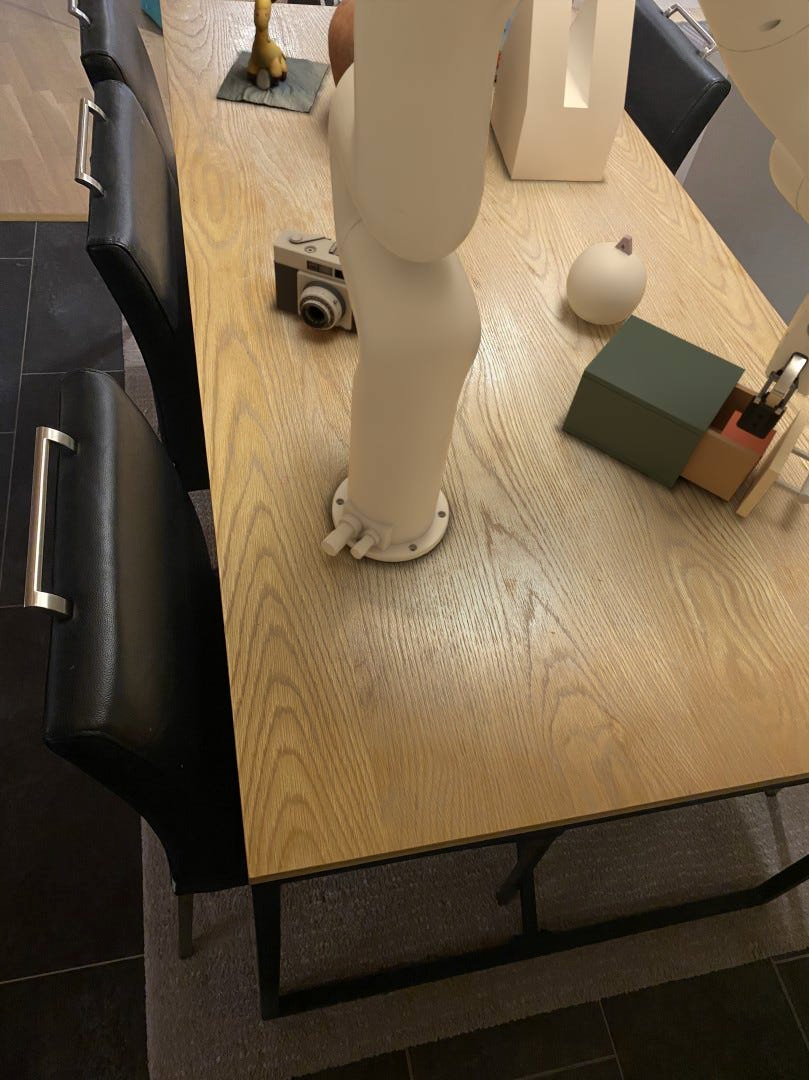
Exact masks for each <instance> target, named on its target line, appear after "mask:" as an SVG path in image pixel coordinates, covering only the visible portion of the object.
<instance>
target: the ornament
mask: <svg viewBox="0 0 809 1080" xmlns="http://www.w3.org/2000/svg"><path fill="white" fill-rule="evenodd" d="M647 276H648V275H647V269H646V266H645V263H644V261H643V259H642V257H641V256H640V255H639V254H638V252H637V251H636V250H635V249H633V237H632V236H631V235H629V234H625V235H624V236H623V237H622V238H621V239H620V240H619V242H617V241H602V242H601V241H600V242H597V243H594V244H592V245H590V246H588V247H586V248H585V249H584V250H583V251H581V252H580V253H579V254H578V255H577V257H576V258H575V260H574V261H573V262H572V264H571V266H570V268H569V270H568V274H567V279H566V285H565V291H566V293H565V294H566V298H567V301H568V304H569V307H570V308H571V309H572V311H573V312H574V313H575V314H576V315H577V316H578V317H579V318H581V319H582V320H583V321H586V322H588V323H590V324H593V325H599V326H602V325H603V326H606V325H614V324H617V323H619V322H620V323H621V322H622V321H623V320H625V319H628V318H629V317H630V316H631V315H632V314H633V313H634V311H636V309H637V308H638V306H639V305H640V304H641V302H642V300H643V297H644V295H645V292H646V288H647V278H648V277H647Z"/></svg>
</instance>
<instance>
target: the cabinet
mask: <svg viewBox="0 0 809 1080" xmlns="http://www.w3.org/2000/svg"><path fill="white" fill-rule="evenodd" d="M745 372H746V369H745V368H744V367H741V366H739V365H738V364H735V363H733V362H731V361H729V360H727V359H725V358H722V357H721V356H719V355H716V354H714V353H712V352H710V351H708V350H706V349H704V348H702V347H700V346H699V345H696V344H695V343H691V342H689V341H687V340H686V339H683V338H682V337H679V336H677V335H675V334H673V333H671V332H669V331H667V330H665V329H663V328H660V326H659V327H658V326H657V325H655V324H652V323H651V322H649V321H646V320H644V319H642V318H640V317H638V316H637V315H635V314H630V315H629V316H628V317H627V318H626V320H625V321H624V322H623V323H622V325H621V326H620V327H619V328H618V329H617V330H616V332H615V333H614V334H613V335H612V336H611V338H610V339H609V340H608V341H607V342H606V344H605V345H603V347H602V348H601V350H599V352H598V353H597V354H596V355H595V357H594V358H593V359H592V360H591V361H590V362H589V364H588V365H586V367H585V368H584V370H583V372H582V375H581V377H580V380H579V382H578V385H577V388H576V390H575V393H574V395H573V398H572V401H571V403H570V406H569V408H568V411H567V414H566V417H565V419H564V422H563V425H562V427H561V430H563V431H565V432H566V433H569V434H571V435H572V436H574V437H576V438H578V439H580V440H581V441H583V442H585V443H587V444H589V445H591V446H593V447H595V448H597V449H598V450H599V451H602V452H604V453H605V454H608V455H609V456H611V457H613V458H615V459H617V460H618V461H620V462H622V463H624V464H626V465H627V466H629V467H631V468H633V469H634V470H637V471H638V472H640V473H642V474H644V475H645V476H648V477H649V478H652V479H653V480H655V481H656V482H658V483H660V484H663V485H664V486H666V487H668V488H670V489H672V488H673V487H674V485H675V483H676V481H677V480H678V479H679V477H680V473H681V471H682V470H683V468H684V466H685V465H686V463H687V462H688V460H689V458H690V457H691V455H692V453H693V452H694V450H695V448H696V447H697V445H698V443H699V442H700V440H701V438H702V437H703V435H704V433H705V432H706V430H707V429H708V427H709V426H710V424H711V423H712V421H713V419H714V418H715V416H716V415H717V413H718V412H719V410H720V409H721V407H722V406H723V404H724V403H725V401H726V399H727V398H728V396H729V395H730V393H731V392H732V390H733V389H734V387H735V386H736V384H737V383H739V382H740V380H741V378H742V377H743V375H744V373H745Z"/></svg>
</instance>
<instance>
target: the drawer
mask: <svg viewBox="0 0 809 1080" xmlns="http://www.w3.org/2000/svg"><path fill="white" fill-rule="evenodd" d="M758 394H759V392H757V391H755V390H754V389H751V388H749V387H747V386H745V385H744V384H740V383H739V382H738V383H737V384H736V386H735V387H734V389H733V390H732V392H731V393H730V395H729V396H728V398H727V399H726V401H725V403H724V404H723V406H722V407H721V409H720V410H719V412H718V413H717V415H716V416H715V418H714V419H713V421H712V423H711V424H710V426H709V427H708V429H707V430H706V432H705V433H704V435H703V437H702V438H701V440H700V442H699V443H698V445H697V447H696V448H695V450H694V452H693V453H692V455H691V457H690V458H689V460H688V462H687V463H686V465H685V466H684V468H683V470H682V471H681V473H680V475H679V477H682V478H684V479H686V480H688V481H690V482H691V483H693V484H695V485H697V486H699V487H701V488H703V489H705V490H706V491H708V492H710V493H712V494H714V495H716V496H717V497H720V498H721V499H723V500H725V501H727V502H729V501H730V500H731V499H732V498H733V495H734V494H735V493H736V491H737V490H738V489H739V487H740V486H741V485H740V484H741V483H742V482H743V480H744V479H745V477H746V476H747V475H748V473H749V472H750V470H751V469H752V468H753V466H754V465H755V464H756V462H757V461H758V459H759V458H760V456H761V455H759V454H757V453H756V452H754V451H752V450H750V449H748V448H746V447H744V446H742V445H740V444H738V443H736V442H734V441H732V440H730V439H728V438H726V437H724V436H722V435H721V433H722V431H723V429H724V428H725V426H726V425H727V423H728V422H729V420H730V418H731V417H732V415H733V414H734V412H735V411H738V412H740V413H742V414H743V412H744V411H745V409H746V407H747V406H748V404H749V403H750V401H751V400H752V398H753V397H754V395H755V396H757V395H758ZM783 410H785V411H784V412H783V414H782V415H781V417H780V418H779V420H778V421H777V422H776V424H775V425H774V427H773V428H772V429H774V430H775V427H776V426H777V424H779V422H780V420H781V419H782V417H783V416H784V414H785V413H786V411H787V410H788V406H787V405H786V406H785V407H784V409H783ZM808 422H809V411H808V410H806V409H804V408H801V409H800V410H799V411H798V412H797V414H796V415H795V417H794V418H793V420H792V421H791V422H790V423H789V425H788V426H787V428H786V429H785V431H784V432H783V433H782V434H781V435H780V437H779V439H778V440H777V441H776V443H775V444H774V445H773V447H772V448H771V450H770V451H769V452H768V454H767V455H766V458H765V459H764V461H763V462H762V464H761V466H760V468H759V470H758V471H757V473H756V475H755V477H754V479H753V480H752V482H751V485H750V486H749V487H748V489H747V491H746V493H745V495H744V497H743V498H742V501H740V504H739V506H738V508H737V509H736V511H735V513H736V514H737V515H739V516H741V517H743V518H747V517H748V515H749V514H750V513H751V512H752V510H753V509H754V508H755V506H756V505H757V504H758V502H759V501H760V500H761V498H762V497H763V496H764V495H765V494H766V492H767V491H768V490H769V489H770V487H771V486H772V485H775V486H777V487H778V488H780V489H782V490H784V491H786V492H788V493H790V494H792V495H794V496H795V497H796V500H797V502H798V503H800V504H803V505H808V504H809V473H808V474H807V476H806V478H805V480H804V481H803V484H802V486H801V487H800V488H798V487H796V486H794V485H793V484H790V483H788V482H787V481H785V480H783V479H781V478H779V477H778V476H779V475H780V474H781V472H782V470H783V468H784V467H785V464H786V462H787V461H788V459H789V457H790V454H794V455H795V456H797V457H799V458H801V459H803V460H805V461H807V462H809V452H808V451H805V450H803V449H801V448H799V447H797V446H796V444H797V442H798V440H799V439H800V436H801V435H802V433H803V431H804V430H805V427H806V425H807V423H808Z"/></svg>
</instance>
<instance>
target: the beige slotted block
mask: <svg viewBox="0 0 809 1080" xmlns="http://www.w3.org/2000/svg"><path fill="white" fill-rule="evenodd" d="M572 9H573V0H521V2H520V4H519V7H518V9H517V12H516V14H515V17H514V19H513V22H512V24H511V27H510V29H509V32H508V34H507V37H506V40H505V42H504V45H503V47H502V53H501V58H500V64H499V69H498V75H497V79H496V81H495V86H494V91H493V92H494V93H493V96H492V104H491V115H490V124H491V127H492V130H493V133H494V135H495V138H496V141H497V144H498V147H499V149H500V153H501V155H502V158H503V161H504V163H505V166H506V169H507V172H508V175H509V178H510V180H520V181H521V180H523V181H525V180H528V181H565V182H566V181H573V182H574V181H575V182H602V179H603V177H604V173H605V170H606V167H607V165H608V161H609V159H610V155H611V151H612V149H613V145H614V142H615V138H616V135H617V132H618V130H619V126H620V123H621V120H622V116H623V114H624V110H625V102H626V94H627V84H628V75H629V65H630V56H631V49H632V37H633V28H634V19H635V12H636V11H635V9H636V0H583V1H582V2H581V5H580V7H579V9H578V10H577V13H576V15H575V16H574V19H573V20H572ZM571 21H572V22H571Z"/></svg>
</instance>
